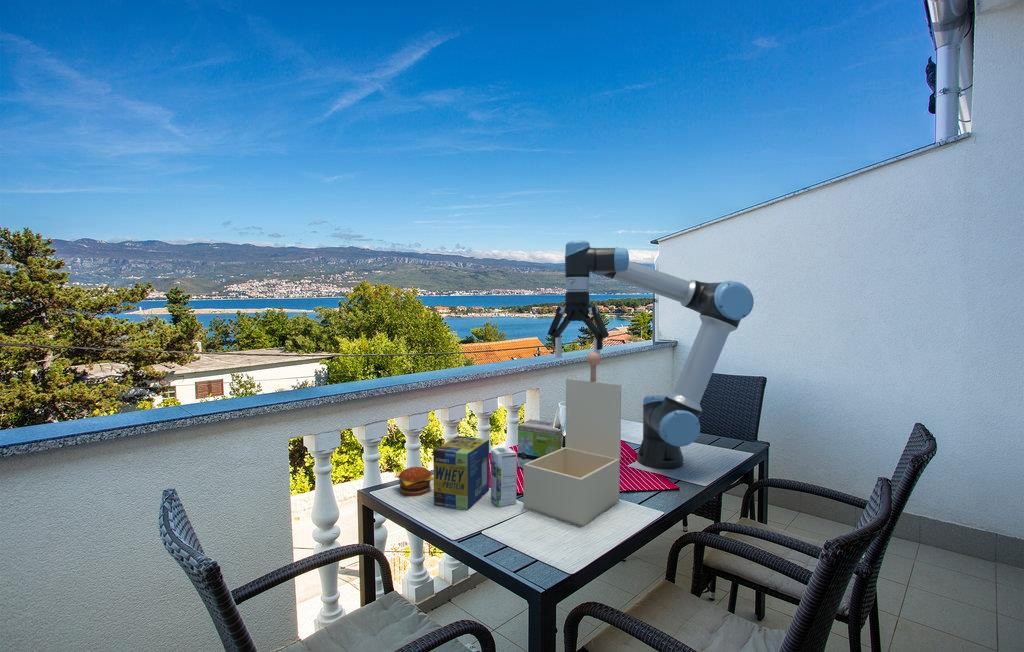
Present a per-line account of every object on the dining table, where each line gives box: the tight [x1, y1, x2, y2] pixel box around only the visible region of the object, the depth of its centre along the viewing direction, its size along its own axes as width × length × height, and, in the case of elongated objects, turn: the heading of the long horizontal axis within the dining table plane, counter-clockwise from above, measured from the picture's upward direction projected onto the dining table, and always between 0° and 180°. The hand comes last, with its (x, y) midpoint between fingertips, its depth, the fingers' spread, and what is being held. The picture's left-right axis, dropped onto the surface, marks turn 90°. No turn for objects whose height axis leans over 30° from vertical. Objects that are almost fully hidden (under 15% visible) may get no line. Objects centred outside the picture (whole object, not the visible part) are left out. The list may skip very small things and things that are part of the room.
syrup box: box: [490, 446, 518, 508], centre depth 136 cm, size 6×6×14 cm
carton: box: [522, 447, 621, 528], centre depth 133 cm, size 20×18×12 cm
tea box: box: [517, 418, 562, 469], centre depth 164 cm, size 15×10×15 cm, turn 62°
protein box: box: [432, 435, 490, 511], centre depth 139 cm, size 10×15×16 cm
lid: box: [565, 351, 622, 460], centre depth 141 cm, size 29×18×4 cm
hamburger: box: [395, 466, 434, 497], centre depth 145 cm, size 9×10×7 cm
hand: (577, 359), depth 154 cm, fingers open, 13 cm apart
